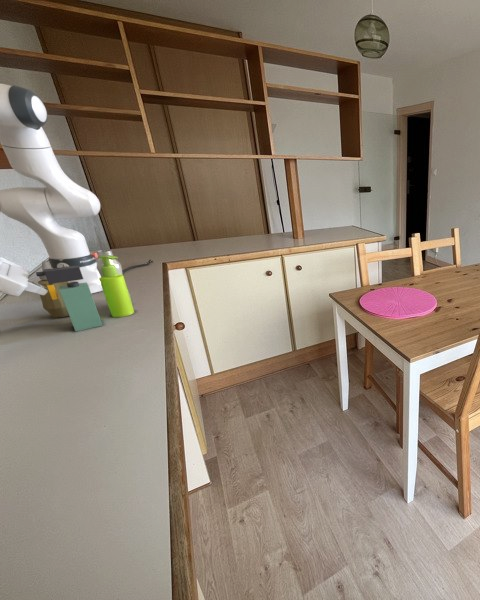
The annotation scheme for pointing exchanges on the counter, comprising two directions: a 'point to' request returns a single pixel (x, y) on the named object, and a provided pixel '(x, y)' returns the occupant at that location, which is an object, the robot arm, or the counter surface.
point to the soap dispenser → (115, 289)
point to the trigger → (52, 291)
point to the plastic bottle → (113, 262)
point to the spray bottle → (74, 296)
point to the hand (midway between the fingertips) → (46, 292)
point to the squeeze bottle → (51, 306)
